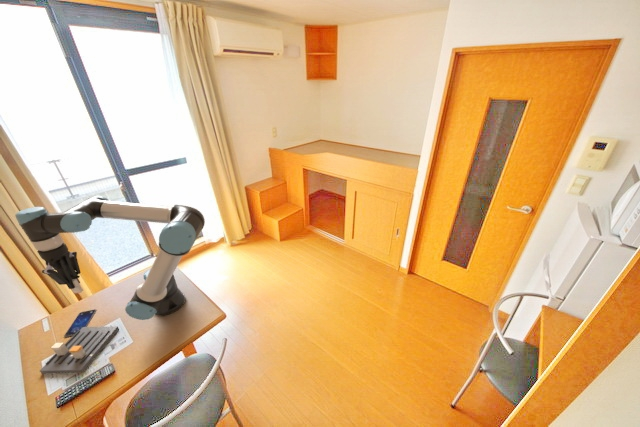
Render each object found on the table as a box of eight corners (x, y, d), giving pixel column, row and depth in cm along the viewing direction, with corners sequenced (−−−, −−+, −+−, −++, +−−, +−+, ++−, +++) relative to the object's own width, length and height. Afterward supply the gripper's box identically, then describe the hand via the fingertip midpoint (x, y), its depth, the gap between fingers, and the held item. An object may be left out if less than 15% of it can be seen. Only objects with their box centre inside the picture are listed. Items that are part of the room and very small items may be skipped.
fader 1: (69, 350, 102) (63, 342, 99) (64, 355, 100) (58, 347, 98) (61, 350, 102) (55, 342, 99) (56, 355, 100) (50, 347, 97)
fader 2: (86, 353, 101) (81, 345, 98) (82, 358, 99) (76, 350, 96) (79, 353, 101) (73, 345, 98) (74, 358, 99) (68, 350, 96)
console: (118, 329, 114) (116, 325, 113) (82, 372, 96) (79, 369, 95) (84, 329, 113) (82, 326, 112) (41, 373, 95) (38, 369, 94)
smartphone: (97, 308, 124) (82, 332, 111) (97, 309, 124) (83, 334, 112) (79, 312, 122) (62, 337, 109) (80, 313, 122) (63, 338, 110)
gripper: (55, 237, 97) (81, 281, 107) (22, 256, 85) (55, 304, 96) (75, 236, 97) (99, 280, 108) (45, 255, 86) (75, 303, 96)
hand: (78, 291), depth 102 cm, fingers closed
